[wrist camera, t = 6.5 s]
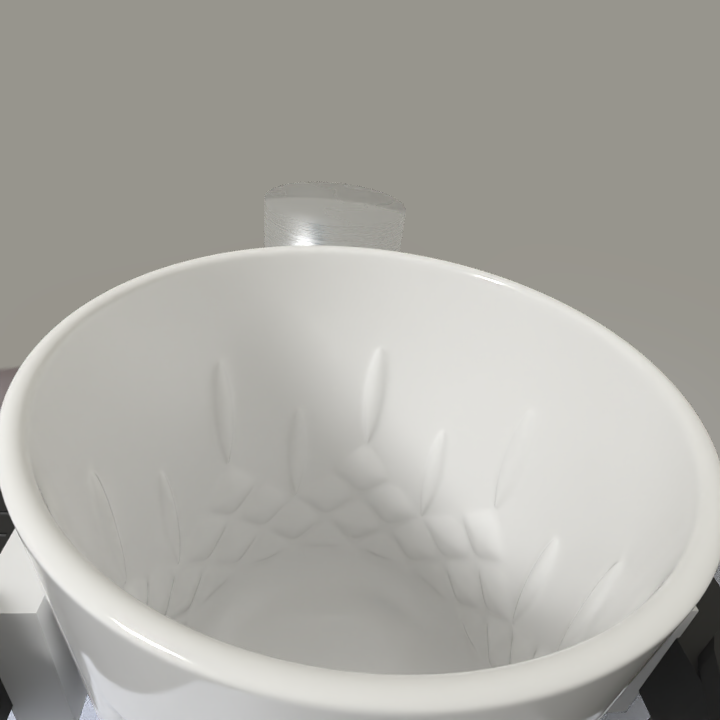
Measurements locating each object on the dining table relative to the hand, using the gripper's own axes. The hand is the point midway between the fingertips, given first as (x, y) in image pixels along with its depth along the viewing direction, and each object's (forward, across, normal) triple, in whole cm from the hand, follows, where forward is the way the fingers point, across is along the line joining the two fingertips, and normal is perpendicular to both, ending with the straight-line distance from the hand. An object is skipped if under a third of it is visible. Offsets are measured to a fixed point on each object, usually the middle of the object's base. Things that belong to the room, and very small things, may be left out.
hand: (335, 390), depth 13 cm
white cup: (-5, 0, -6) cm, 8 cm away
